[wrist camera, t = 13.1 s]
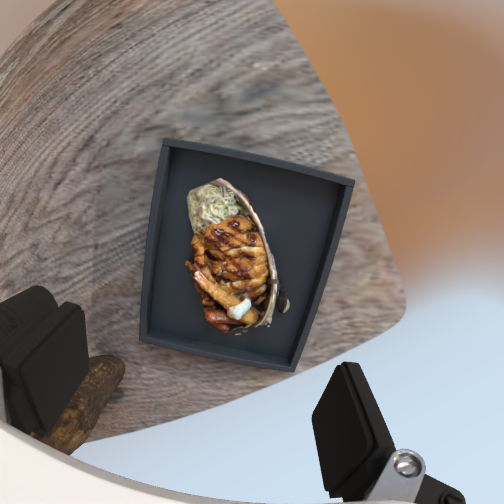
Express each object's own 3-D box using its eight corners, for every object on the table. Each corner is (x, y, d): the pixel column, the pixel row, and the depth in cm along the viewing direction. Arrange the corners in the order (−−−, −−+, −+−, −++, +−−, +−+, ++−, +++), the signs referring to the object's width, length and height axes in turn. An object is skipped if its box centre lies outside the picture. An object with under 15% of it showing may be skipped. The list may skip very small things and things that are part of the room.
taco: (242, 169, 22) (239, 169, 18) (293, 307, 25) (299, 329, 21) (158, 204, 22) (142, 211, 19) (217, 331, 25) (212, 355, 22)
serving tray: (171, 139, 21) (163, 137, 19) (347, 178, 22) (355, 180, 20) (146, 328, 26) (139, 340, 24) (291, 359, 27) (294, 372, 25)
